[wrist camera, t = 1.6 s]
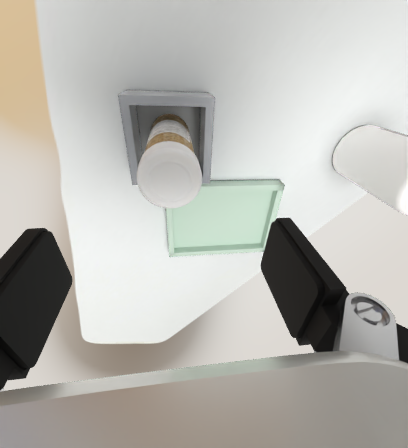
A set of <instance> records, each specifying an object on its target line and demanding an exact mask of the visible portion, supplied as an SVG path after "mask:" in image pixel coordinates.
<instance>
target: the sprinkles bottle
mask: <svg viewBox="0 0 408 448" xmlns="http://www.w3.org/2000/svg"><path fill="white" fill-rule="evenodd" d="M137 183H138V187H139V189H140V191H141V193H142V194H143V196H144V197H145V198H146V199H147V200H148V201H150V202H151V203H152V204H154V205H156V206H159V207H162V208H179V207H182V206H184V205H186V204H188V203H190V202H191V201H192V200H193V199H194V198H195V197H196V196H197V194H198V193H199V191H200V188H201V185H202V172H201V168H200V164H199V162H198V159H197V157H196V156H195V154H194V150H193V145H192V141H191V138H190V135H189V129H188V127H187V125H186V123H185V122H184V121H183V120H182V119H181V118H180V117H179V116H176V115H173V114H164V115H162V116H160V117H158V118H157V119H156V120H155V121H154V122H153V124H152V127H151V132H150V135H149V138H148V142H147V145H146V148H145V152H144V154H143V155H142V157H141V159H140V162H139V165H138V170H137Z"/></svg>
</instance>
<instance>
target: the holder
mask: <svg viewBox="0 0 408 448" xmlns="http://www.w3.org/2000/svg"><path fill="white" fill-rule="evenodd" d="M118 97H119V104H120V110H121V116H122V122H123V129H124V135H125V141H126V147H127V154H128V160H129V166H130V172H131V179H132V185H138V183H137V170H138V165H139V162H140V159H141V157H142V150H141V142H140V134H139V126H138V117H137V109H136V105H144V106H184V107H200V143H199V164H200V168H201V172H202V184H206V183H210V173H211V156H212V139H213V122H214V105H215V97H213V96H212V95H211V94H209V93H202V92H172V91H142V90H125V91H124V92H122V93H120V94H118Z"/></svg>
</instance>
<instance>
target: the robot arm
mask: <svg viewBox="0 0 408 448" xmlns="http://www.w3.org/2000/svg"><path fill="white" fill-rule="evenodd" d="M261 270H262V273H263V275H264V277H265V279H266V281H267V283H268V286H269V288H270V290H271V292H272V294H273V297H274V299H275V301H276V303H277V306H278V308H279V310H280V312H281V314H282V317H283V319H284V321H285V323H286V326H287V328H288V330H289V332H290V334H291V336H292V337H293V338H296V340H297V342H298V344H299V345H309V344H311V345H312V347H313V349H314V353H308V354H298V355H288V356H279V357H270V358H261V359H253V360H245V361H236V362H228V363H219V364H211V365H203V366H195V367H186V368H179V369H171V370H162V371H154V372H147V373H139V374H131V375H122V376H114V377H107V378H98V379H91V380H83V381H76V382H68V383H59V384H52V385H44V386H36V387H29V388H22V389H15V390H8V391H4V388H3V387H4V386H5V383H6V382H7V380H14V379H23V378H26V376H27V374H28V372H29V369H30V368H32V367H34V366H35V364H36V362H37V361H38V358H39V356H40V354H41V352H42V349H43V347H44V345H45V343H46V340H47V338H48V336H49V334H50V332H51V329H52V327H53V325H54V323H55V320H56V318H57V316H58V314H59V312H60V309H61V307H62V305H63V303H64V300H65V298H66V296H67V294H68V291H69V289H70V287H71V285H72V276H71V274H70V271H69V269H68V267H67V265H66V262H65V260H64V258H63V256H62V254H61V251H60V249H59V247H58V245H57V242H56V240H55V238H54V236H53V234H52V233H51V232H50V231H48V230H47V229H45V228H35V229H27V230H25V231H24V233H23V234H22V235H21V236H20V237H19V238H18V239H17V241H16V242H15V243H14V244H13V245H12V246H11V247H10V249H9V250H8V251H7V252H6V253H5V254H4V255H3V256H2V258H1V259H0V448H408V329H407V328H405V327H403V326H401V325H399V324H397V323H396V320H395V317H394V315H393V313H392V312H391V310H390V309H389V308H388V307H387V306H386V305H385V304H384V303H382V302H381V301H379V300H378V299H376V298H374V297H372V296H370V295H367V294H364V293H351V294H349V293H348V292H347V290H346V287H345V286H344V285H343V283H342V282H341V281H340V280H339V278H338V277H337V276H336V275H335V273H334V272H333V271H332V270H331V268H330V267H329V266H328V265H327V263H326V262H325V261H324V260H323V258H322V257H321V256H320V255H319V253H318V252H317V251H316V250H315V248H314V247H313V246H312V245H311V243H310V242H309V241H308V240H307V238H306V237H305V236H304V235H303V233H302V232H301V231H300V230H299V228H298V227H297V226H296V225H295V223H294V222H293V221H292V220H291V219H290V218H277V219H276V220H275V221H274V222H272V223H271V226H270V230H269V234H268V238H267V242H266V246H265V250H264V254H263V258H262V261H261Z"/></svg>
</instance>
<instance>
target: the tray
mask: <svg viewBox="0 0 408 448" xmlns="http://www.w3.org/2000/svg"><path fill="white" fill-rule="evenodd" d="M284 186H285V185H284V184H283V183H282V182H281V181H280V180H219V181H210V183H206V184H202V185H201V188H200V191H199V193H198V194H197V196H196V197H195V198H194V199H193V200H192V201H191V202H190V203H188V204H186V205H184V206H182V207H179V208H166V217H167V231H168V245H169V257H178V256H196V255H213V254H230V253H248V252H264V250H265V246H266V242H267V238H268V234H269V230H270V226H271V223H272V222H274V221H275V219H276V216H277V212H278V208H279V205H280V201H281V197H282V193H283V190H284Z"/></svg>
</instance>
